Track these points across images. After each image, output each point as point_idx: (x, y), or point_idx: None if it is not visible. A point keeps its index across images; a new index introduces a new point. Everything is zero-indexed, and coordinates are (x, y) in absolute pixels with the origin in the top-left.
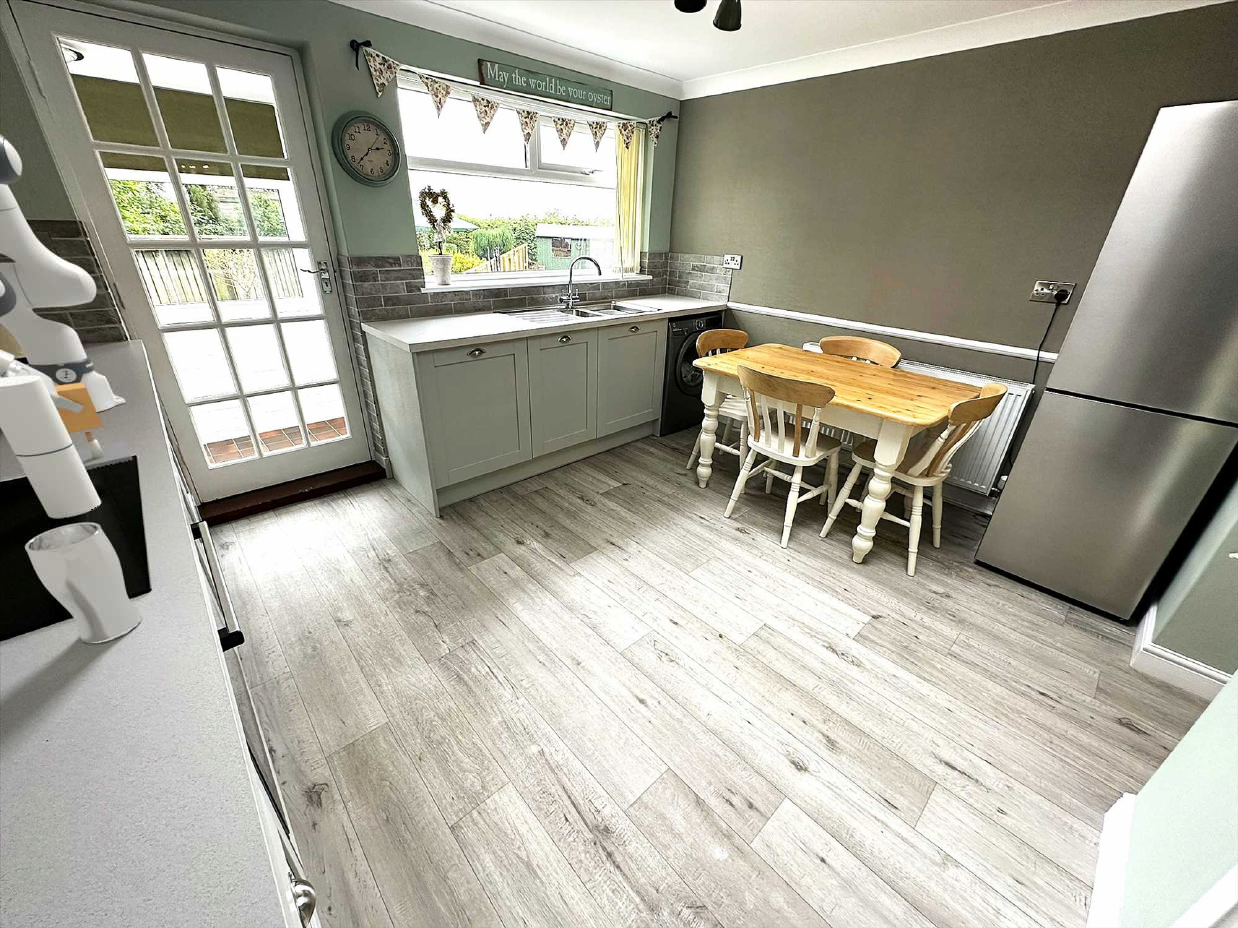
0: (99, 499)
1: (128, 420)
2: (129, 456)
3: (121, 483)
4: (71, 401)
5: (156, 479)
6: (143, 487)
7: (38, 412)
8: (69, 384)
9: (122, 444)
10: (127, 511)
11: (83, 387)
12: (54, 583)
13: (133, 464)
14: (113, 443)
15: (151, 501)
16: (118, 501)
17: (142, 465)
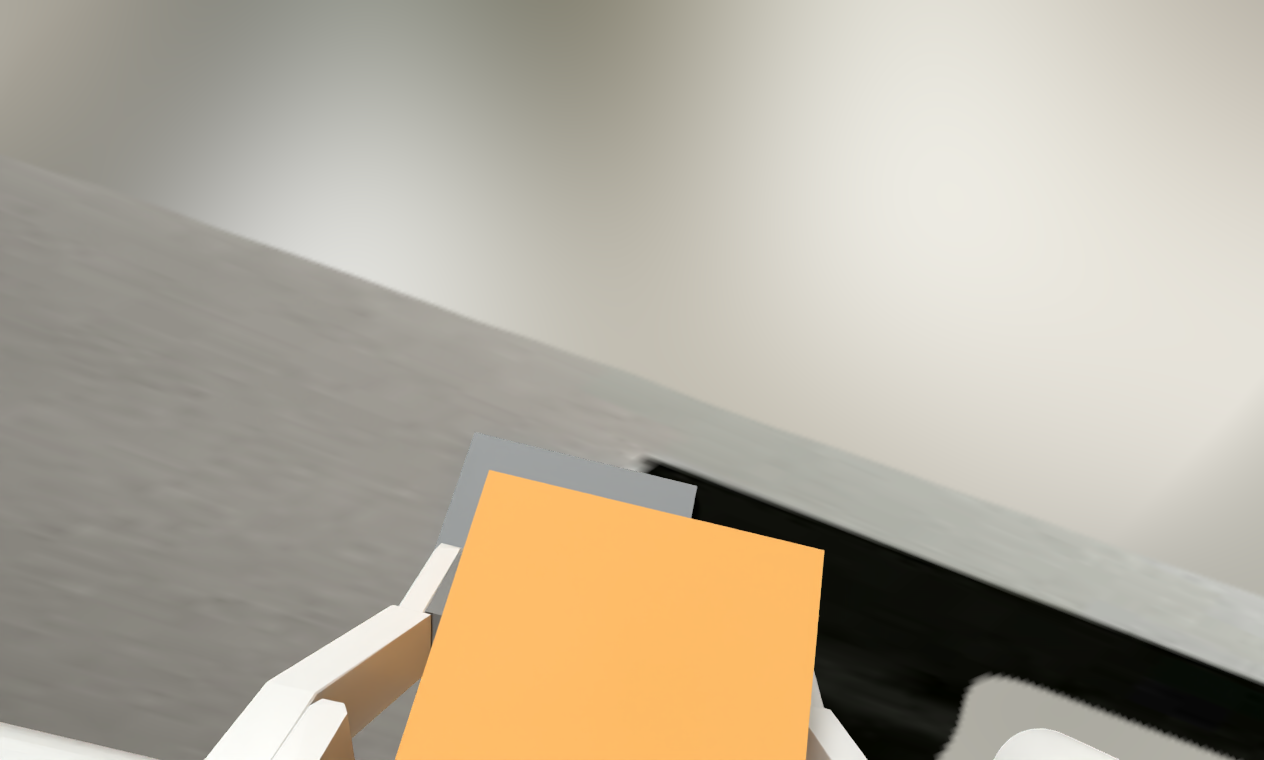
0: (1075, 739)
1: (143, 289)
2: (695, 492)
3: (917, 613)
4: (841, 730)
5: (966, 523)
6: (1012, 581)
7: None
8: (466, 619)
9: (517, 448)
10: (1199, 703)
11: (807, 568)
12: None
13: (745, 507)
14: (468, 464)
15: (1159, 617)
16: (1089, 688)
17: (783, 492)
